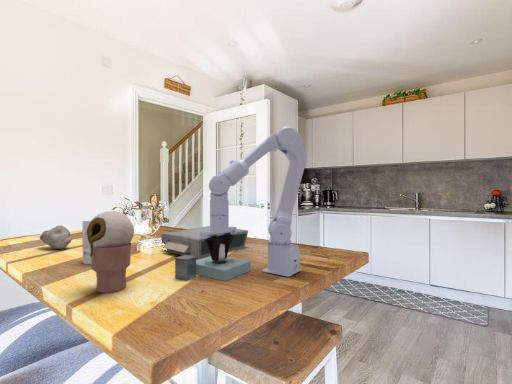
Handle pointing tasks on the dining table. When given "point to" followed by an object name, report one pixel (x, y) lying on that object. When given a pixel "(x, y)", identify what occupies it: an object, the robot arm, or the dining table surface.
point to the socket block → (222, 268)
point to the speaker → (197, 242)
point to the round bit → (221, 254)
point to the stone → (57, 237)
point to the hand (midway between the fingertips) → (219, 259)
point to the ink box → (86, 244)
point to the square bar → (185, 267)
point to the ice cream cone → (110, 249)
